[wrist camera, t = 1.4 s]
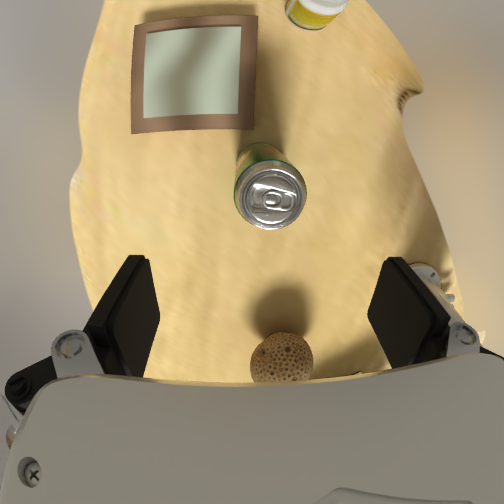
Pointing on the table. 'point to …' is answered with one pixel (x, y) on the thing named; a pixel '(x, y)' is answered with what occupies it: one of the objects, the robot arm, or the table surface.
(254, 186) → the soda can
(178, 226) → the table surface
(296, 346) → the natural sponge
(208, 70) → the walnut picture frame
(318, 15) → the supplement bottle
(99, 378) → the robot arm
